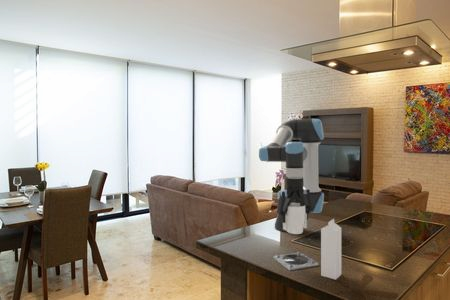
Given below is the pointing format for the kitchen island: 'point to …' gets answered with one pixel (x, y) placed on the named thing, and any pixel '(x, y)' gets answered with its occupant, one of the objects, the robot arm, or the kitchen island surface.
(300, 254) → the flange
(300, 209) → the cup
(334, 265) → the milk
